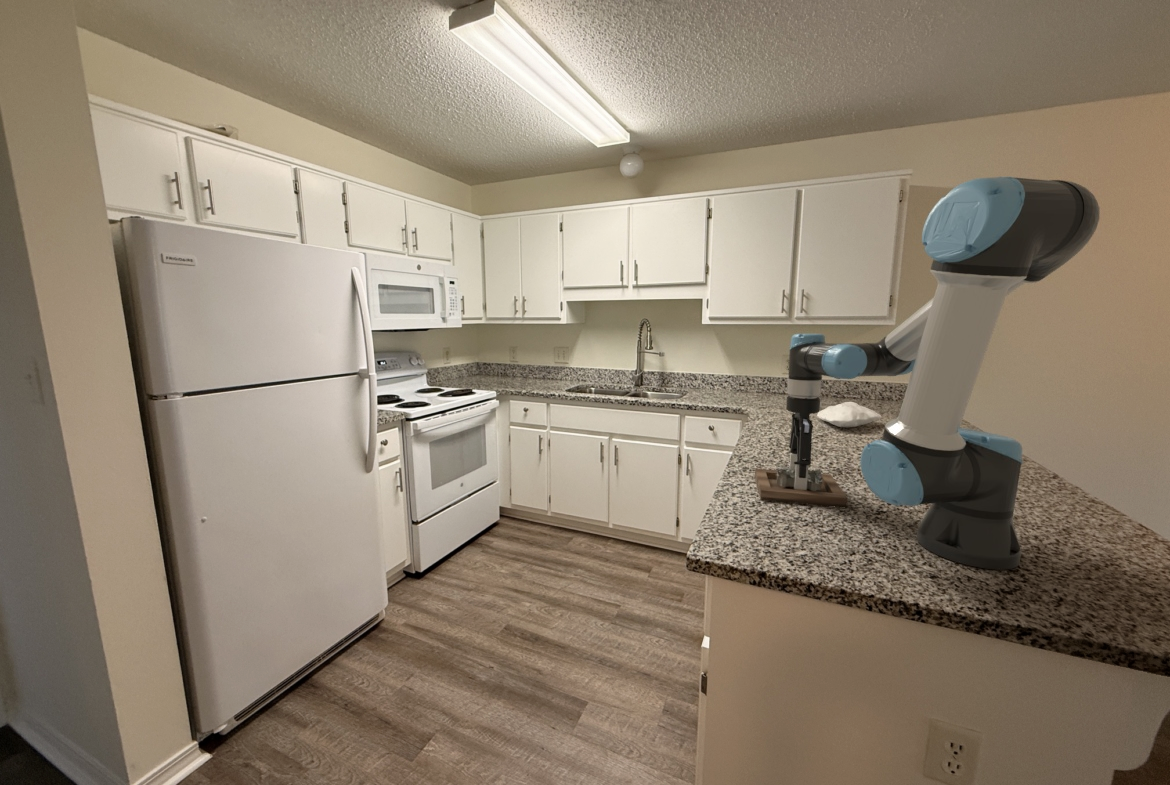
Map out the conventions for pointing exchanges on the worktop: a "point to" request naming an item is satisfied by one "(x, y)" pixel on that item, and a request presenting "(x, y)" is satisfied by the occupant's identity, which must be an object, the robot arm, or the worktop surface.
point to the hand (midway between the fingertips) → (797, 483)
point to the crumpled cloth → (848, 415)
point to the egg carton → (788, 478)
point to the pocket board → (799, 491)
